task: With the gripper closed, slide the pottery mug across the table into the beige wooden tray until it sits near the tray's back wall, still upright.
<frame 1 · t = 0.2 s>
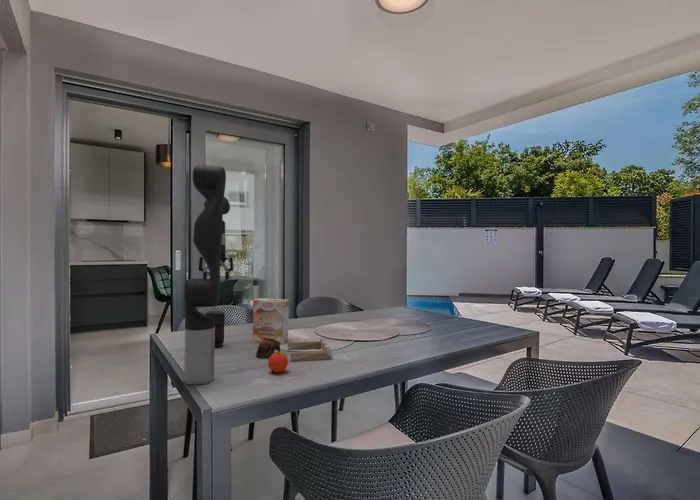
hand: (216, 280, 170), 29 cm above the table, tool pointing down, fingers open, 8 cm apart
camera lens: (214, 346, 169), on the table
coffeecake box: (270, 341, 179), on the table
pottery mug: (268, 356, 156), on the table
beige wooden tray: (306, 354, 159), on the table
clementine: (279, 372, 137), on the table
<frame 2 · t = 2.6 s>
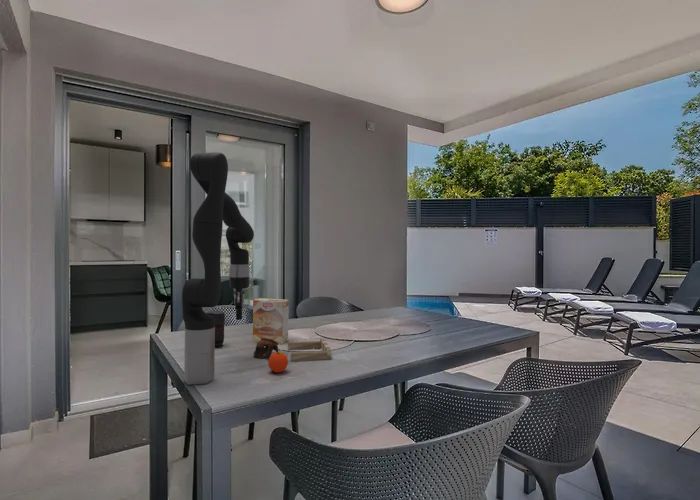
hand: (239, 319, 153), 15 cm above the table, tool pointing down, fingers closed
nothing on the table moved.
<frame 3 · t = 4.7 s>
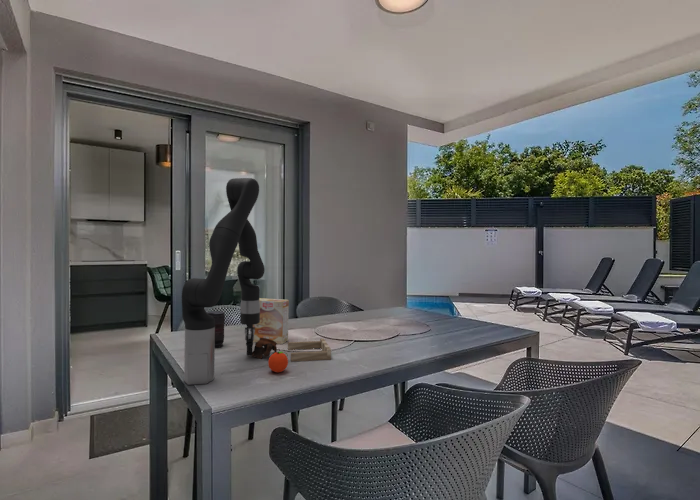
hand: (249, 354, 154), 1 cm above the table, tool pointing down, fingers closed
pottery mug: (265, 356, 155), on the table, touching gripper
everything else where it was.
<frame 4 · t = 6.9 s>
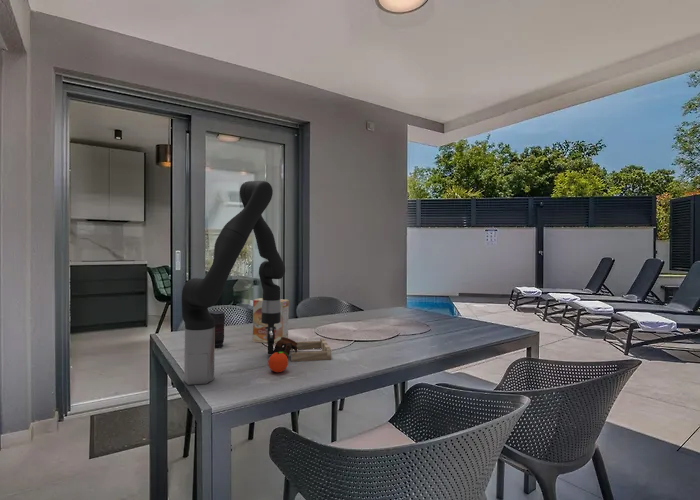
hand: (270, 353, 156), 1 cm above the table, tool pointing down, fingers closed
pottery mug: (285, 356, 156), on the table, touching gripper
everything else where it was.
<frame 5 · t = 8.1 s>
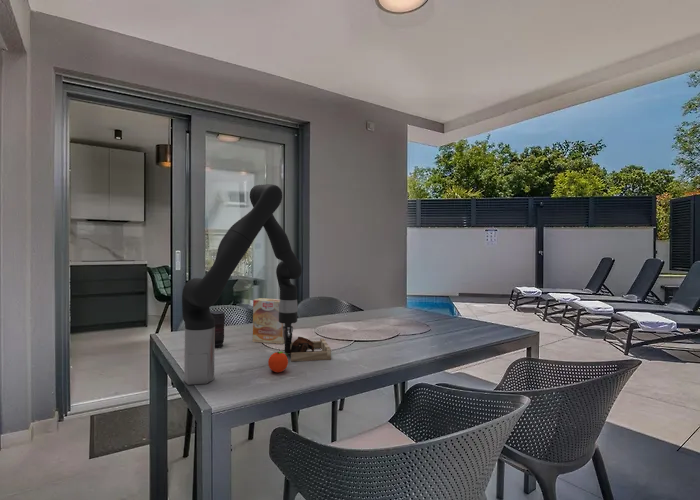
hand: (287, 353, 157), 1 cm above the table, tool pointing down, fingers closed
pottery mug: (302, 355, 157), on the table, touching gripper
everything else where it was.
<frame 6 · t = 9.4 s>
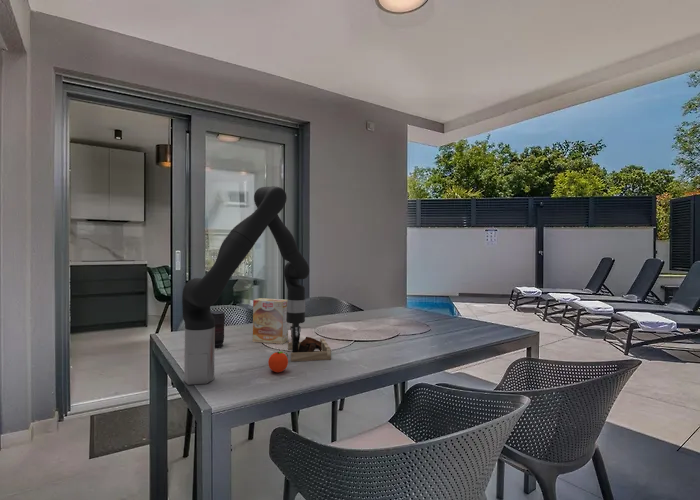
hand: (295, 352, 158), 1 cm above the table, tool pointing down, fingers closed
pottery mug: (309, 355, 158), on the table, touching gripper
everything else where it was.
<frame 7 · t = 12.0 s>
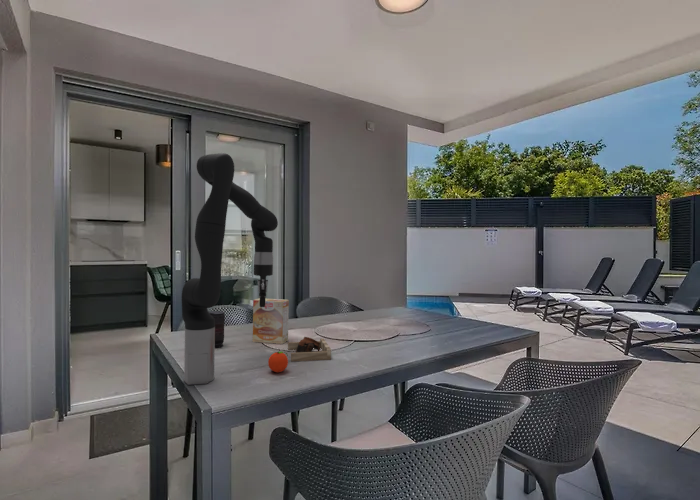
hand: (262, 306, 155), 20 cm above the table, tool pointing down, fingers closed
pottery mug: (307, 355, 158), on the table
everything else where it was.
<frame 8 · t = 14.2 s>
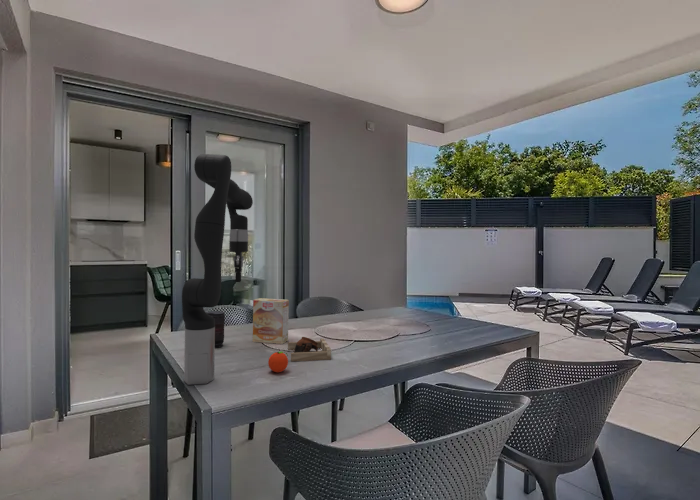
hand: (238, 281, 162), 29 cm above the table, tool pointing down, fingers closed
nothing on the table moved.
at the end: pottery mug 1.2 cm off-centre on the beige wooden tray, point 0.0 cm above the beige wooden tray's base; pottery mug tilted 0° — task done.
